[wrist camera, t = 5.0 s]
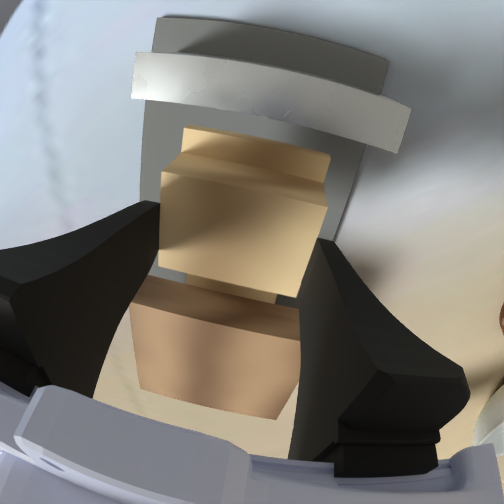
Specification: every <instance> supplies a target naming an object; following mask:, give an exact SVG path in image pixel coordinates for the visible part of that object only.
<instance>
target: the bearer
mask: <svg viewBox="0 0 504 504" xmlns="http://www.w3.org/2000/svg"><path fill="white" fill-rule="evenodd" d="M330 160H331V158H330V155H329V154H327V153H323V152H320V151H316V150H312V149H308V148H304V147H300V146H296V145H292V144H287V143H283V142H279V141H274V140H270V139H265V138H261V137H256V136H251V135H246V134H241V133H236V132H231V131H225V130H220V129H214V128H208V127H202V126H196V125H190V124H189V125H187V126H186V127H184V131H183V140H182V149H181V153H180V154H179V155H178V156H177V157H176V158H175V159H174V160H173V161H172V162H171V163H170V164H169V165H168V166H167V167H166V168H165V169H164V170H163V171H162V173H161V190H160V228H159V251H158V266H160V267H164V268H168V269H172V270H176V271H180V272H184V273H188V274H193V275H197V276H201V277H205V278H210V279H214V280H218V281H223V282H227V283H231V284H236V285H240V286H245V287H249V288H253V289H258V290H263V291H267V292H272V293H276V294H281V295H286V296H290V297H295V298H296V296H297V293H298V291H299V288H300V285H301V281H302V278H303V276H304V273H305V270H306V267H307V265H308V262H309V259H310V256H311V253H312V250H313V248H314V245H315V242H316V239H317V238H318V235H319V232H320V229H321V226H322V223H323V220H324V217H325V215H326V212H327V209H328V205H327V200H326V194H325V189H324V180H325V176H326V173H327V170H328V166H329V163H330Z"/></svg>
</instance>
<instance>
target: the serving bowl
mask: <svg viewBox="0 0 504 504" xmlns="http://www.w3.org/2000/svg"><path fill="white" fill-rule="evenodd" d="M489 443H492V444H493V445H494V449H495V453H496V457H497V456H501V455H504V384H503V385H502V386H501V387H500V388H499V389H498V390H497V391H496V392H495V394H494V395H493V396H492V397H491V398H490V399H489V401H488V402H487V403H486V405H485V406H484V408H483V410H482V411H481V413H480V415H479V417H478V419H477V422H476V425H475V428H474V433H473V446H477V445H483V444H489Z"/></svg>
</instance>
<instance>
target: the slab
mask: <svg viewBox="0 0 504 504" xmlns="http://www.w3.org/2000/svg"><path fill="white" fill-rule="evenodd" d="M129 312H130V321H131V329H132V337H133V345H134V352H135V358H136V365H137V371H138V377H139V383H140V389H143V390H146V391H149V392H153V393H156V394H160V395H163V396H167V397H170V398H174V399H178V400H182V401H185V402H189V403H193V404H198V405H202V406H206V407H210V408H215V409H219V410H224V411H229V412H234V413H239V414H244V415H249V416H255V417H261V418H267V419H273V420H276V419H277V418H278V416H279V414H280V413H281V411H282V409H283V408H284V406H285V404H286V403H287V401H288V399H289V397H290V396H291V394H292V392H293V390H294V389H295V387H296V385H297V383H298V382H299V378H300V366H301V350H300V323H299V309H296V308H292V307H287V306H282V305H277V304H272V303H268V302H263V301H258V300H254V299H249V298H244V297H240V296H235V295H231V294H227V293H222V292H218V291H213V290H209V289H205V288H201V287H196V286H192V285H188V284H184V283H180V282H176V281H172V280H167V279H163V278H159V277H155V276H151V275H147V277H146V278H145V280H144V282H143V283H142V285H141V287H140V288H139V290H138V292H137V293H136V295H135V297H134V298H133V300H132V302H131V303H130V305H129Z"/></svg>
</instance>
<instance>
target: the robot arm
mask: <svg viewBox="0 0 504 504" xmlns="http://www.w3.org/2000/svg"><path fill="white" fill-rule="evenodd" d="M159 228H160V203H158V202H153V201H148V200H144V201H141V202H138V203H136V204H134V205H131V206H129V207H127V208H125V209H123V210H121V211H118V212H116V213H114V214H112V215H110V216H108V217H106V218H103V219H101V220H99V221H96V222H94V223H92V224H90V225H87V226H85V227H83V228H80V229H78V230H75V231H72V232H70V233H67V234H64V235H61V236H58V237H55V238H51V239H48V240H44V241H40V242H37V243H33V244H29V245H24V246H19V247H14V248H8V249H2V250H0V504H504V496H503V490H502V484H501V478H500V473H499V467H498V463H497V458H496V453H495V449H494V445H493V444H492V443H489V444H483V445H477V446H471V447H467V448H465V449H462V450H461V451H459V452H457V453H456V454H455V455H453V456H452V457H451V458H450V459H443V460H438V459H437V452H436V446H435V444H437V443H438V442H440V439H441V438H440V432H439V429H441V428H442V427H443V426H444V425H446V424H447V423H448V422H449V421H450V420H452V419H453V418H454V417H455V416H456V415H458V414H459V413H460V412H461V411H462V409H463V408H464V407H465V406H466V404H467V402H468V400H469V399H470V390H469V386H468V383H467V380H466V377H465V374H464V371H463V368H462V367H461V366H459V365H458V364H456V363H455V362H453V361H451V360H450V359H448V358H447V357H445V356H443V355H442V354H440V353H439V352H437V351H436V350H434V349H433V348H432V347H430V346H429V345H428V344H426V343H425V342H424V341H422V340H421V339H420V338H418V337H417V336H416V335H415V334H413V333H412V332H411V331H410V330H409V329H408V328H406V327H405V326H404V325H403V324H402V323H401V322H400V321H399V320H397V319H396V318H395V317H394V316H393V315H392V314H391V313H390V312H389V311H388V310H387V309H386V308H385V306H384V305H383V304H382V303H381V302H380V301H379V300H378V299H377V298H376V297H375V296H374V294H373V293H372V292H371V291H370V290H369V288H368V287H367V286H366V285H365V283H364V282H363V281H362V280H361V278H360V277H359V276H358V274H357V273H356V272H355V270H354V269H353V268H352V266H351V265H350V263H349V262H348V261H347V259H346V258H345V256H344V255H343V253H342V252H341V251H340V249H339V248H338V247H337V245H336V244H335V243H334V241H331V240H326V239H322V238H317V239H316V242H315V245H314V248H313V250H312V253H311V256H310V259H309V262H308V265H307V267H306V270H305V273H304V276H303V278H302V281H301V287H300V298H299V323H300V350H301V366H300V378H299V388H298V397H297V405H296V413H295V419H294V424H293V432H292V438H291V444H290V449H289V454H288V459H281V458H273V457H265V456H259V455H252V454H248V453H247V452H246V451H244V450H242V449H241V448H239V447H237V446H236V445H234V444H232V443H231V442H229V441H226V440H223V439H220V438H216V437H213V436H210V435H207V434H204V433H201V432H197V431H193V430H189V429H185V428H181V427H177V426H173V425H170V424H166V423H163V422H159V421H156V420H152V419H149V418H146V417H143V416H139V415H136V414H133V413H130V412H127V411H124V410H121V409H118V408H116V407H113V406H110V405H107V404H104V403H102V402H99V401H97V400H94V399H92V398H93V395H94V391H95V388H96V384H97V381H98V378H99V375H100V372H101V369H102V366H103V363H104V360H105V357H106V355H107V352H108V349H109V347H110V344H111V342H112V339H113V337H114V334H115V332H116V330H117V327H118V325H119V323H120V321H121V319H122V317H123V315H124V313H125V312H126V310H127V308H128V307H129V305H130V303H131V302H132V300H133V298H134V297H135V295H136V293H137V292H138V290H139V288H140V287H141V285H142V283H143V282H144V280H145V278H146V277H147V275H148V273H149V272H150V270H151V267H152V265H153V263H154V261H155V258H156V256H157V254H158V251H159Z"/></svg>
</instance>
